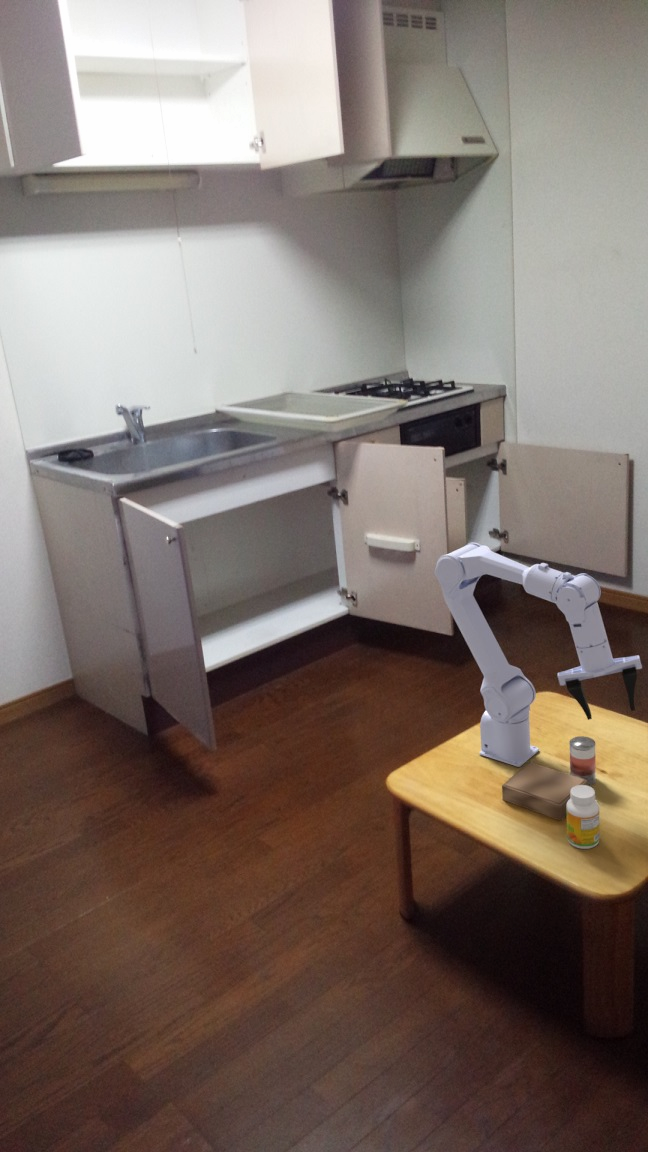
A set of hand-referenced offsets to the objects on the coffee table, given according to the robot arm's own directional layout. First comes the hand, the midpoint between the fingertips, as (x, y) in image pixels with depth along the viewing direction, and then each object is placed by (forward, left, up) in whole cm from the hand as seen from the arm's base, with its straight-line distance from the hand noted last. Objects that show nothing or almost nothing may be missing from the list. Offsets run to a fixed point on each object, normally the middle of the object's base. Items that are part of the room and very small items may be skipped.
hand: (611, 713), depth 162 cm
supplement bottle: (+3, -17, -16) cm, 23 cm away
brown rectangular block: (-9, -9, -16) cm, 20 cm away
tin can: (-6, 0, -16) cm, 17 cm away
